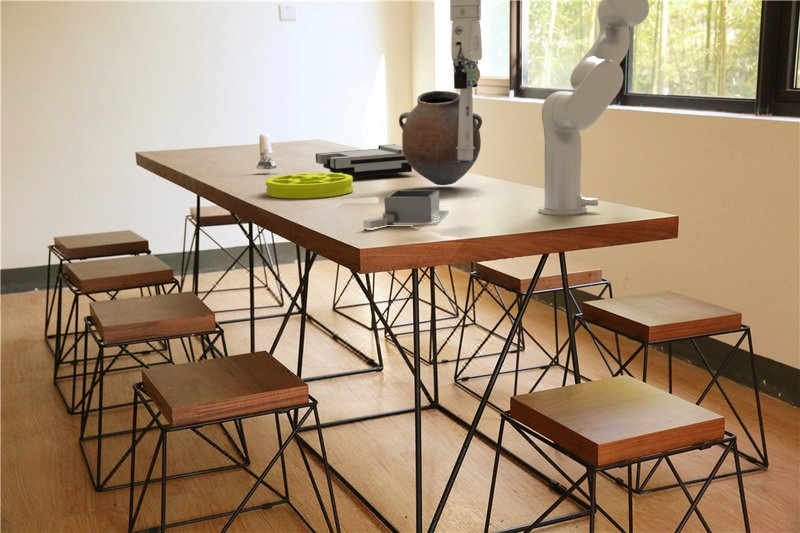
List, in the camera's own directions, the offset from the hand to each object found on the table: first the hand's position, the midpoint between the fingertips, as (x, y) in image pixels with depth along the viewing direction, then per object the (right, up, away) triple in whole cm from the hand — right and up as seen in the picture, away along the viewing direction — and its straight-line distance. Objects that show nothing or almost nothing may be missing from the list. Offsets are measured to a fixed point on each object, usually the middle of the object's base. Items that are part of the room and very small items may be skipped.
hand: (465, 87), depth 237 cm
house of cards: (-66, -7, +132) cm, 148 cm away
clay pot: (-3, -19, +70) cm, 73 cm away
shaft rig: (-13, -33, +11) cm, 37 cm away
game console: (-29, -10, +111) cm, 115 cm away
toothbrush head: (0, -18, +4) cm, 19 cm away
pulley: (-45, -21, +69) cm, 85 cm away
